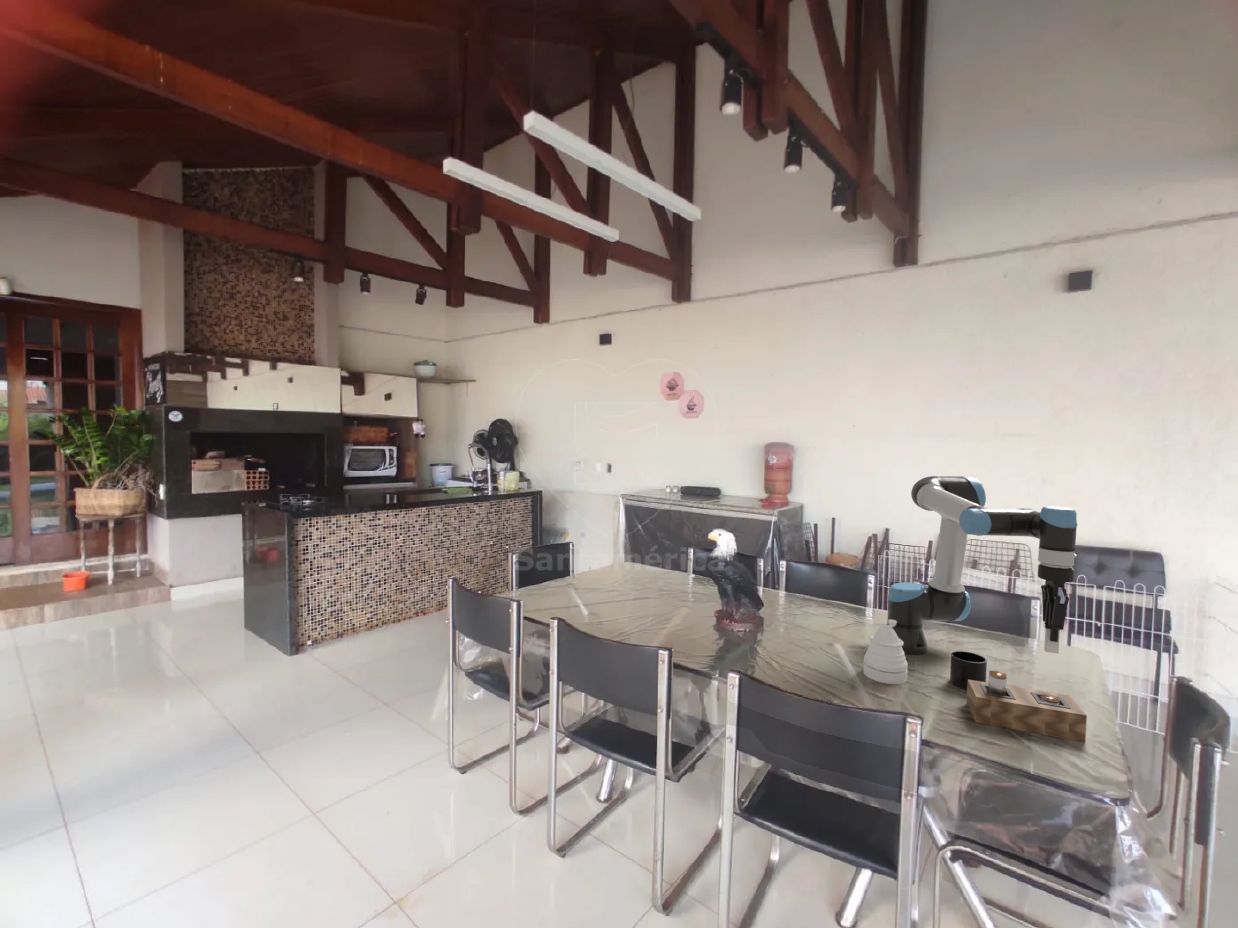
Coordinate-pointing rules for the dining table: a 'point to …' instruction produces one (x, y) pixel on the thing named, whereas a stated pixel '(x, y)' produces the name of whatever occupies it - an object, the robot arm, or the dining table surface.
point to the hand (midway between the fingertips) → (1051, 651)
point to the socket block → (1026, 711)
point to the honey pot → (886, 656)
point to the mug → (967, 668)
